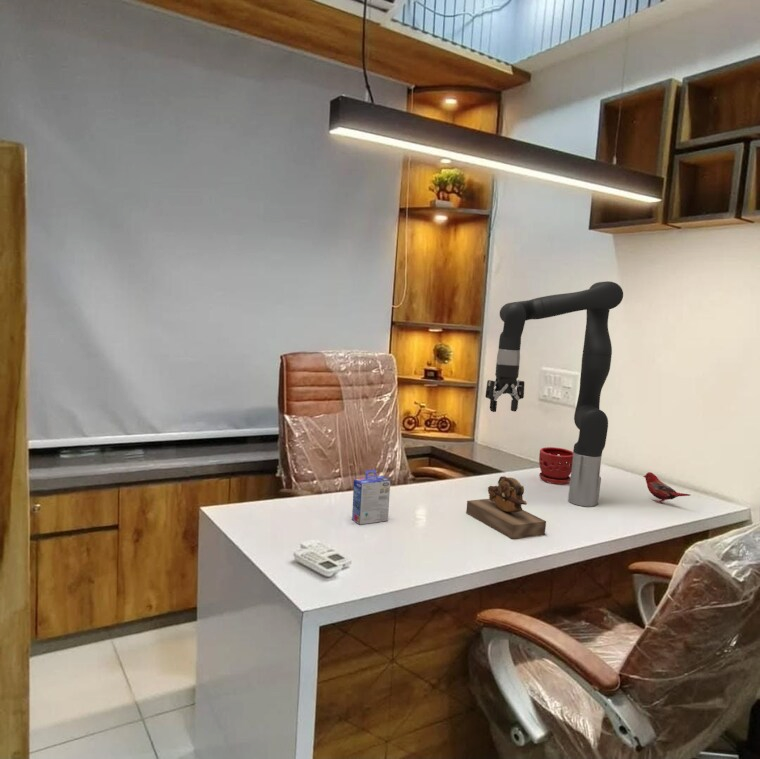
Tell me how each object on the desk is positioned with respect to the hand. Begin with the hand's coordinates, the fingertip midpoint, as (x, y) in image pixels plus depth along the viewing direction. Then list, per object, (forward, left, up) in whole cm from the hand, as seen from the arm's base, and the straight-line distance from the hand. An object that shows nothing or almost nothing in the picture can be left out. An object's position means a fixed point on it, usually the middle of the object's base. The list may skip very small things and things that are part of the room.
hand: (503, 411), depth 200 cm
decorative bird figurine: (-57, +22, -30) cm, 68 cm away
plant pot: (-38, -12, -30) cm, 50 cm away
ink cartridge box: (+51, +7, -30) cm, 60 cm away
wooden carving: (+13, +21, -26) cm, 36 cm away
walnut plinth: (+13, +21, -30) cm, 39 cm away
